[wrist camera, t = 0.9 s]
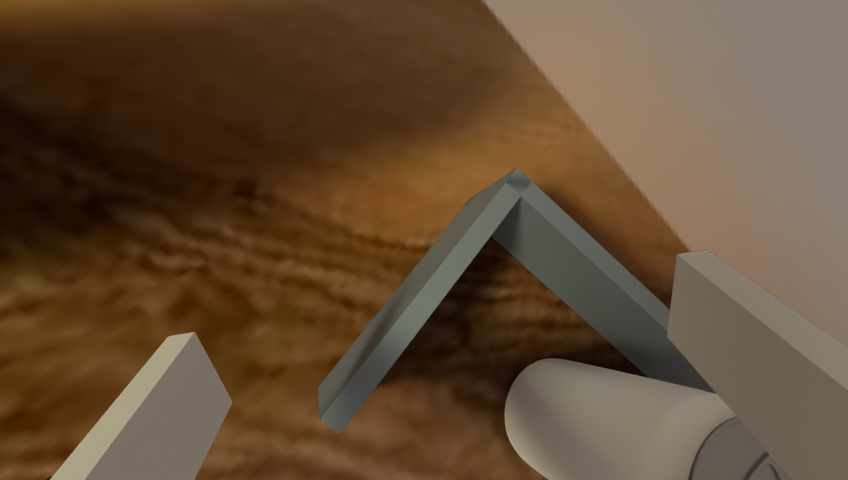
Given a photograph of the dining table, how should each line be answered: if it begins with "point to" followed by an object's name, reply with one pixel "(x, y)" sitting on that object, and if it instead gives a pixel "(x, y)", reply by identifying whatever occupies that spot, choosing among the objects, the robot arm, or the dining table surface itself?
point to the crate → (546, 259)
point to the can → (627, 428)
